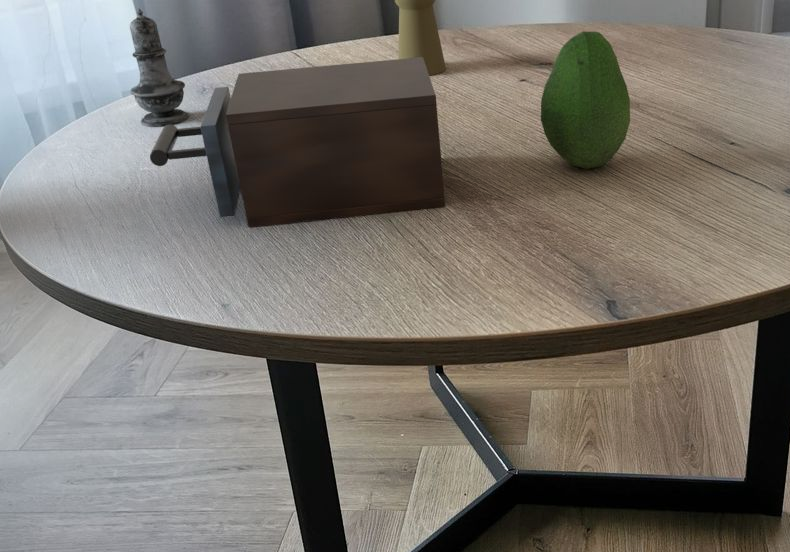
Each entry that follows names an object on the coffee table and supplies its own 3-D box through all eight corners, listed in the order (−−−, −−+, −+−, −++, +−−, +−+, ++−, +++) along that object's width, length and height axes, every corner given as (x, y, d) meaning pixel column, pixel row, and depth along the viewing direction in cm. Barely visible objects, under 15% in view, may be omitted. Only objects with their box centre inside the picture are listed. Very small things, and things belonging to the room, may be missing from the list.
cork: (436, 77, 117) (428, -18, 112) (390, 75, 119) (380, -18, 113) (452, 64, 122) (445, -28, 116) (408, 63, 124) (399, -27, 118)
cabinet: (248, 227, 80) (225, 114, 75) (257, 175, 91) (238, 73, 86) (445, 206, 82) (435, 94, 77) (432, 157, 92) (422, 56, 88)
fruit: (547, 183, 85) (542, 46, 79) (538, 154, 92) (533, 25, 86) (636, 177, 85) (639, 39, 79) (621, 147, 92) (623, 18, 86)
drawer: (159, 224, 79) (136, 132, 75) (178, 176, 89) (158, 92, 85) (405, 198, 81) (395, 107, 77) (397, 154, 91) (388, 71, 87)
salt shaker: (190, 108, 111) (167, 0, 105) (193, 122, 106) (168, 10, 100) (138, 115, 110) (110, 6, 104) (137, 130, 105) (109, 17, 99)
